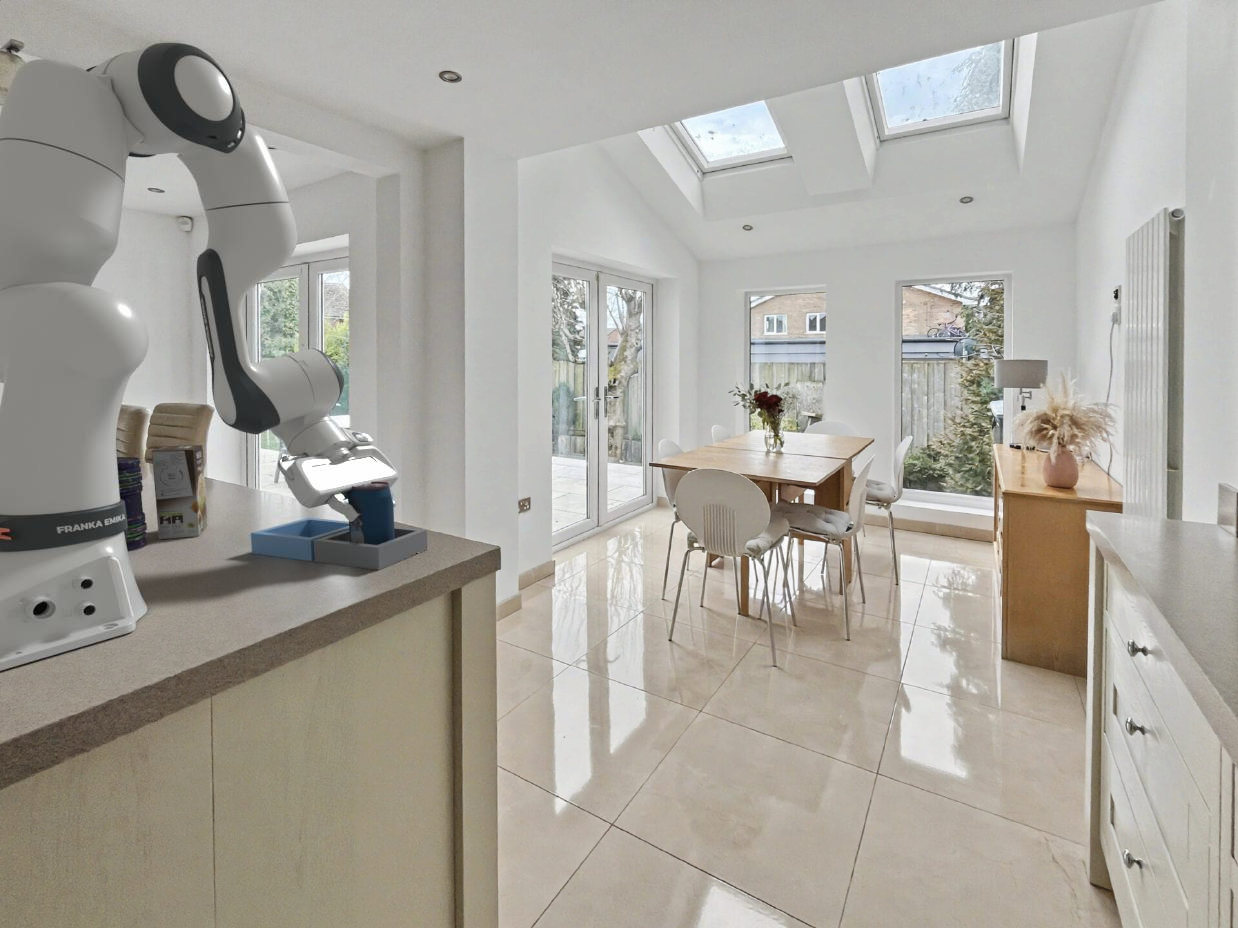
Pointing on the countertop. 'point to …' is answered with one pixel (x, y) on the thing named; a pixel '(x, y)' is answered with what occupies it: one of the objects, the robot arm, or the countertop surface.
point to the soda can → (372, 514)
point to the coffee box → (180, 491)
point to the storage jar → (132, 501)
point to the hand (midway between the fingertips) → (374, 513)
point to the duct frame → (335, 544)
